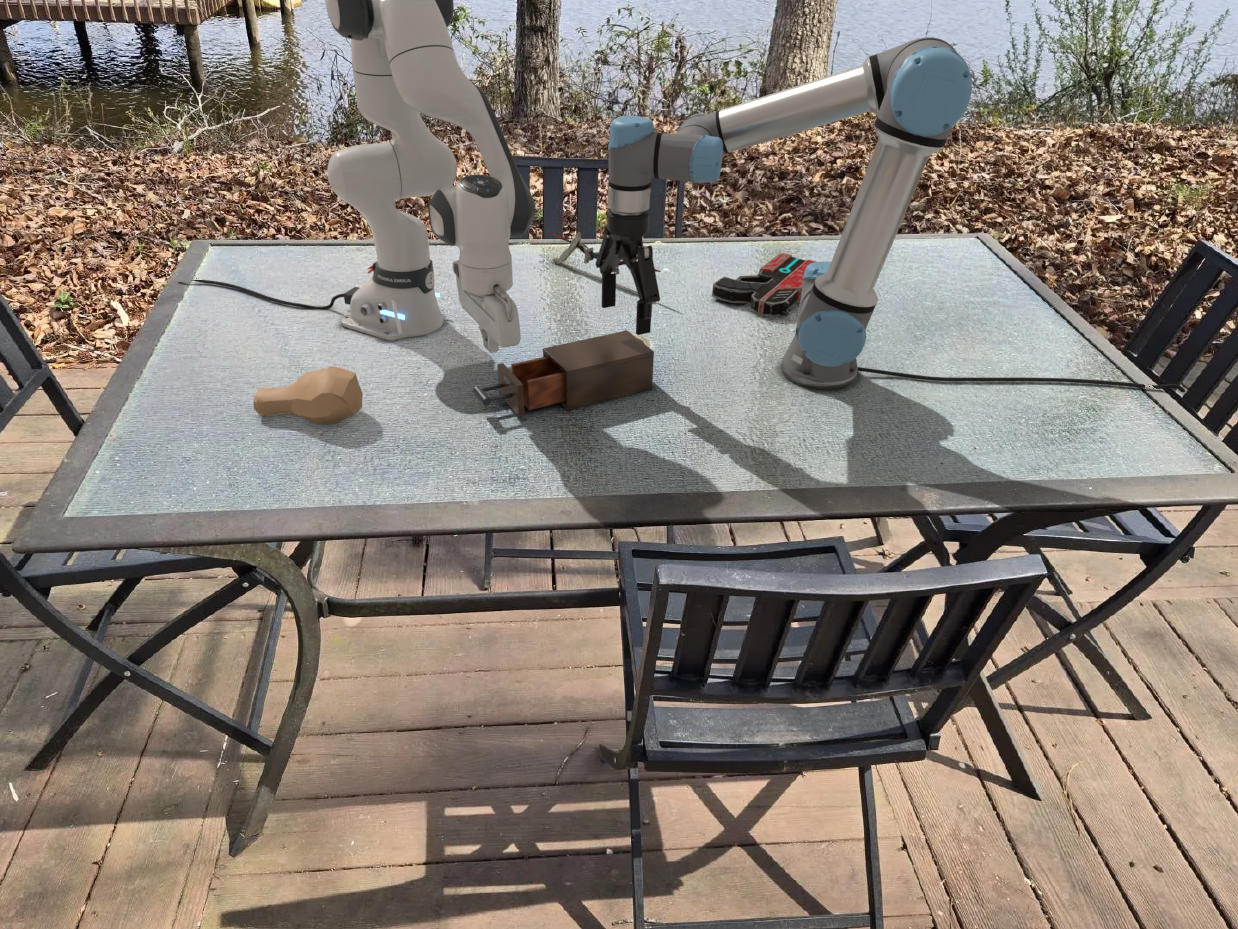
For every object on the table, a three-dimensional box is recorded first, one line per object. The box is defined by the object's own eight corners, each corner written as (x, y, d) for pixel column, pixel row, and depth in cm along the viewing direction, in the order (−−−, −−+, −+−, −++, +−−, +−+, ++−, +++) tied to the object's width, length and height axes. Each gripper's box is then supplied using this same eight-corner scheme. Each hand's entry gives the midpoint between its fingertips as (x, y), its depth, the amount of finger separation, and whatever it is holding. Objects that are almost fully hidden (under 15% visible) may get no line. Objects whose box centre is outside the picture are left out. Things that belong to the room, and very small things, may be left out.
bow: (662, 300, 209) (664, 260, 204) (657, 302, 208) (659, 262, 203) (550, 258, 231) (549, 220, 225) (545, 259, 230) (544, 222, 224)
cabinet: (567, 410, 166) (566, 371, 161) (543, 386, 173) (542, 348, 169) (652, 389, 173) (654, 351, 169) (626, 366, 181) (627, 330, 176)
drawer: (488, 424, 159) (486, 393, 155) (469, 400, 166) (467, 370, 162) (602, 395, 169) (602, 365, 165) (580, 374, 176) (580, 345, 172)
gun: (708, 284, 207) (784, 305, 199) (760, 245, 229) (831, 262, 221) (706, 302, 209) (781, 323, 201) (758, 261, 231) (828, 278, 223)
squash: (362, 431, 158) (346, 392, 151) (255, 439, 159) (235, 401, 153) (374, 393, 165) (360, 354, 159) (272, 401, 167) (254, 364, 161)
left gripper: (528, 294, 143) (530, 369, 151) (482, 254, 158) (486, 324, 165) (492, 301, 140) (496, 377, 148) (448, 259, 155) (454, 330, 163)
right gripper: (683, 227, 149) (676, 341, 161) (613, 188, 167) (611, 292, 179) (645, 233, 146) (640, 349, 157) (578, 192, 164) (578, 299, 175)
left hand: (491, 349), depth 157 cm, fingers closed
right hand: (625, 319), depth 168 cm, fingers open, 13 cm apart
